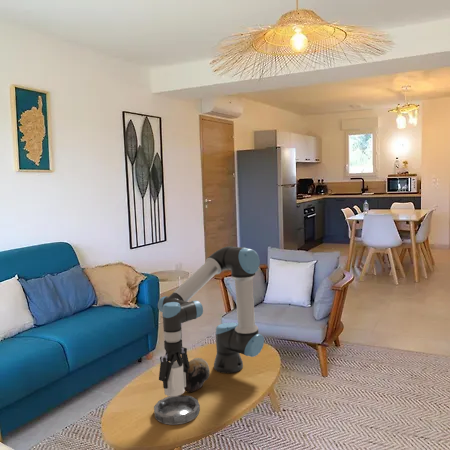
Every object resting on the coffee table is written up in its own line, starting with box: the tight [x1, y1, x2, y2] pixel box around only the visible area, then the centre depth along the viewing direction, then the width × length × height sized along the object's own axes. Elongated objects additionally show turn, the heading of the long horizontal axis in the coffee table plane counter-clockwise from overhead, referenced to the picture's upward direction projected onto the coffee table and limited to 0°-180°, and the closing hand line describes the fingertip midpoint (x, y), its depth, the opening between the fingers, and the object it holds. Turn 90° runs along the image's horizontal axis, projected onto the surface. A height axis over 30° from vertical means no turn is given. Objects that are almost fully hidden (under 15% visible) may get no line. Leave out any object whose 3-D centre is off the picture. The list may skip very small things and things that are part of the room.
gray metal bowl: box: [153, 394, 201, 426], centre depth 198 cm, size 19×19×3 cm
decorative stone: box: [184, 357, 211, 393], centre depth 217 cm, size 18×9×15 cm, turn 137°
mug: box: [165, 361, 186, 396], centre depth 195 cm, size 12×8×12 cm
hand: (175, 390), depth 197 cm, fingers closed on mug, 9 cm apart
